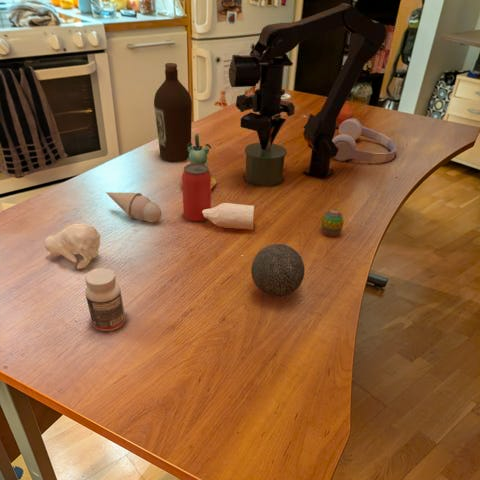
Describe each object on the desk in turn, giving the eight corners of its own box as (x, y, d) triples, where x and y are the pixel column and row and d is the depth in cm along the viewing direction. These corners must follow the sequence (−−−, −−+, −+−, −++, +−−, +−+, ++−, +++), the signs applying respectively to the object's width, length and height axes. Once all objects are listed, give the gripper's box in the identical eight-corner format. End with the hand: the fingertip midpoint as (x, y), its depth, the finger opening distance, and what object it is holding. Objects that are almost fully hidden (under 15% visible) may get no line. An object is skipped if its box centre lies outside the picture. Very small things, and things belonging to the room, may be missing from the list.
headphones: (325, 158, 143) (390, 173, 139) (331, 135, 138) (398, 150, 134) (337, 135, 159) (395, 148, 155) (342, 114, 154) (402, 127, 151)
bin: (257, 167, 136) (258, 142, 131) (288, 176, 132) (291, 150, 127) (238, 179, 129) (239, 153, 124) (270, 189, 125) (273, 162, 120)
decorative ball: (263, 313, 85) (267, 268, 78) (241, 282, 92) (244, 239, 85) (310, 301, 88) (318, 257, 82) (286, 272, 95) (291, 230, 88)
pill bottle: (95, 311, 83) (85, 266, 77) (127, 310, 84) (119, 265, 77) (90, 332, 79) (79, 286, 73) (123, 332, 80) (115, 285, 73)
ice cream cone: (106, 207, 113) (159, 230, 110) (94, 201, 107) (149, 225, 104) (116, 184, 113) (169, 206, 110) (104, 176, 107) (159, 200, 104)
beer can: (206, 224, 109) (206, 175, 101) (180, 220, 110) (177, 172, 102) (213, 211, 114) (213, 164, 106) (188, 208, 115) (186, 160, 107)
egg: (318, 235, 107) (322, 211, 103) (322, 225, 111) (326, 202, 107) (338, 239, 106) (343, 216, 102) (342, 229, 109) (347, 206, 106)
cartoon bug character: (171, 200, 118) (168, 139, 109) (188, 178, 133) (187, 124, 124) (207, 203, 117) (208, 143, 108) (221, 182, 132) (222, 127, 123)
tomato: (353, 130, 164) (357, 107, 158) (327, 129, 164) (331, 105, 158) (348, 122, 171) (353, 99, 166) (324, 121, 171) (327, 98, 165)
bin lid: (258, 143, 132) (259, 124, 128) (293, 152, 127) (295, 133, 124) (236, 155, 124) (237, 136, 121) (273, 165, 120) (275, 146, 116)
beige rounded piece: (81, 234, 87) (28, 228, 90) (92, 272, 92) (42, 265, 95) (99, 219, 91) (48, 213, 94) (108, 256, 97) (60, 249, 100)
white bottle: (204, 218, 111) (203, 196, 108) (253, 221, 111) (255, 200, 107) (200, 230, 107) (199, 208, 103) (251, 234, 106) (253, 212, 103)
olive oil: (187, 148, 145) (183, 58, 129) (198, 160, 138) (196, 67, 122) (154, 151, 142) (146, 60, 125) (163, 164, 134) (156, 69, 118)
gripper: (261, 73, 124) (257, 132, 134) (223, 87, 111) (222, 151, 122) (298, 80, 119) (291, 140, 130) (262, 95, 107) (258, 161, 117)
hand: (266, 148), depth 125 cm, fingers closed on bin lid, 2 cm apart
